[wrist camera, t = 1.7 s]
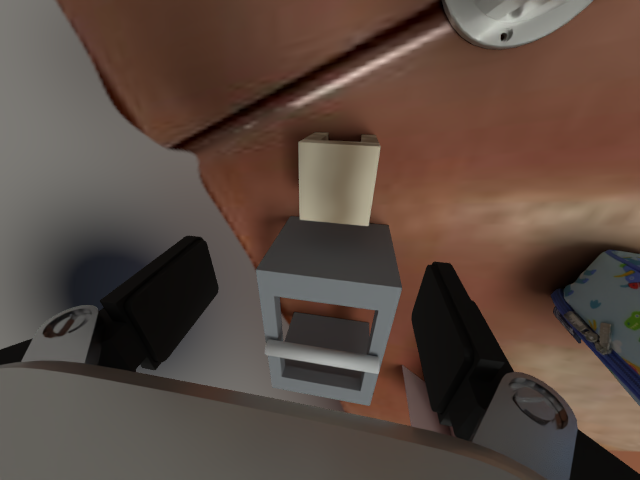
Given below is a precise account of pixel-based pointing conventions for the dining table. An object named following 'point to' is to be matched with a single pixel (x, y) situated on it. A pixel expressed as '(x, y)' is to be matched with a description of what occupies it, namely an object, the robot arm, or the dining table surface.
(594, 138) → the dining table surface
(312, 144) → the birch clip
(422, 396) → the greeting card
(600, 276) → the lunch box
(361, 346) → the shelf stand
